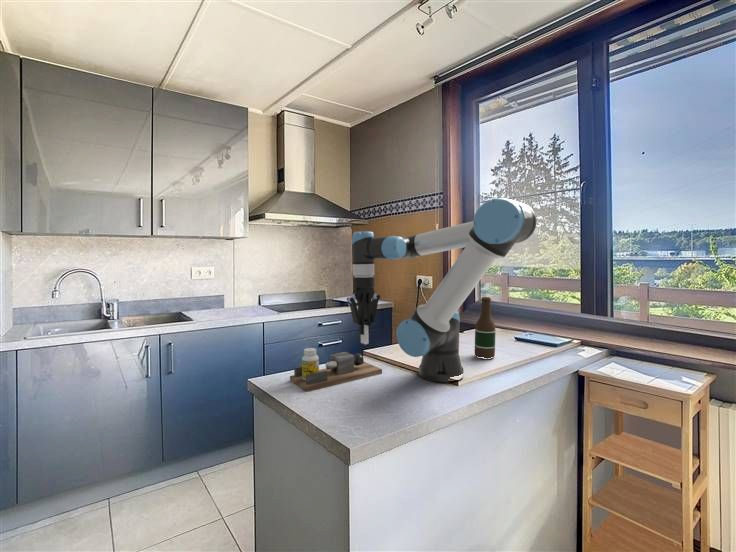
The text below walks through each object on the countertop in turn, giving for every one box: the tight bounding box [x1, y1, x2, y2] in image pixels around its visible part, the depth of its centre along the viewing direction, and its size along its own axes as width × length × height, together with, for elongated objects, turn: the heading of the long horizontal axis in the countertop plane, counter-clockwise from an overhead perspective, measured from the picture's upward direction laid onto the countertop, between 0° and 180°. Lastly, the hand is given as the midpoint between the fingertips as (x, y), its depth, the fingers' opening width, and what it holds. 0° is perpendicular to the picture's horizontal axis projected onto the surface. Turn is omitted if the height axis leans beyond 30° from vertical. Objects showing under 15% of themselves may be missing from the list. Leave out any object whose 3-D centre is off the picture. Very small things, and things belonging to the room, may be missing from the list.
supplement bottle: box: [301, 347, 320, 381], centre depth 125 cm, size 5×5×10 cm
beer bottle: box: [474, 296, 497, 358], centre depth 154 cm, size 8×8×24 cm
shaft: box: [325, 352, 365, 370], centre depth 133 cm, size 4×13×4 cm, turn 126°
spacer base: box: [289, 351, 383, 393], centre depth 131 cm, size 12×29×7 cm, turn 126°
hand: (364, 343), depth 136 cm, fingers closed
